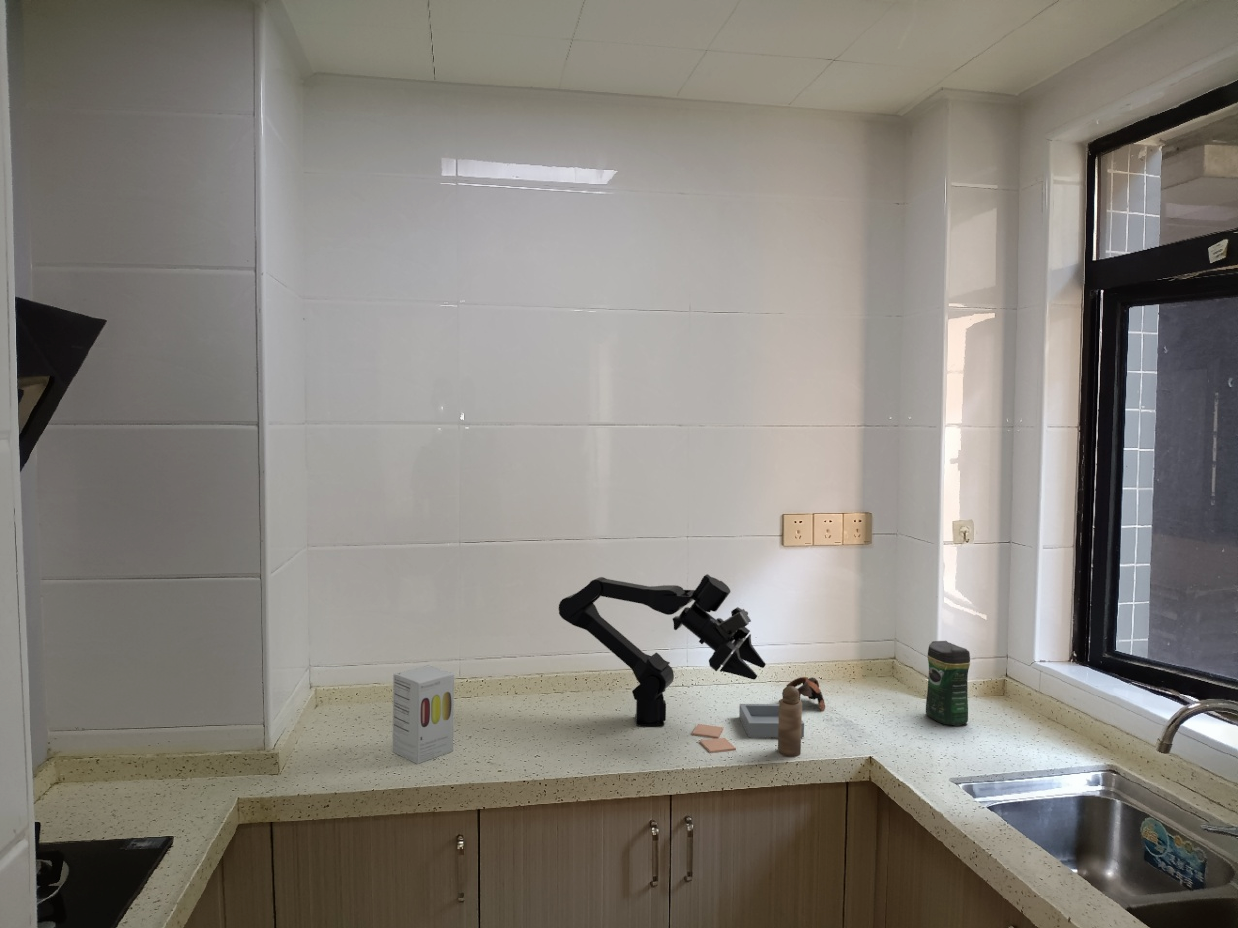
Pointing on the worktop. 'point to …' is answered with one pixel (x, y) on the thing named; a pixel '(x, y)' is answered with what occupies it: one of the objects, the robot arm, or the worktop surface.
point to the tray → (761, 720)
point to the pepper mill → (790, 723)
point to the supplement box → (423, 713)
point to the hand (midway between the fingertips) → (760, 671)
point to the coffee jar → (948, 683)
